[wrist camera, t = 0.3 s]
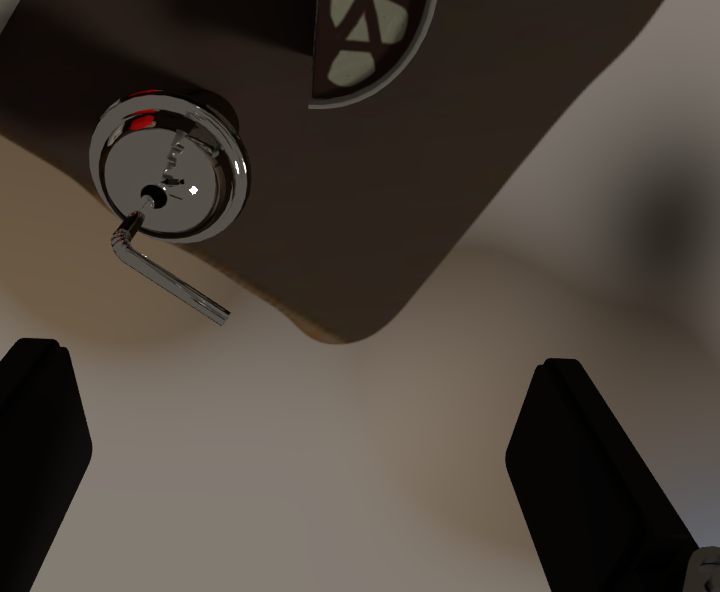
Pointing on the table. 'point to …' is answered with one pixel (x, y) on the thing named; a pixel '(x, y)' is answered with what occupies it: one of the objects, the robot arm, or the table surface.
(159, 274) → the cup with straw
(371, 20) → the food container
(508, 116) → the table surface
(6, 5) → the off-white block numbered 7
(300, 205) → the table surface
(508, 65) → the table surface
